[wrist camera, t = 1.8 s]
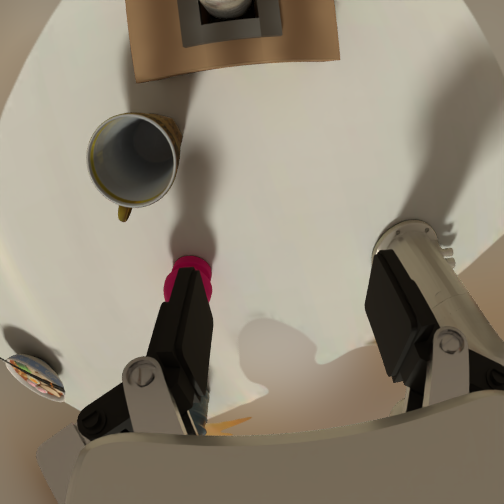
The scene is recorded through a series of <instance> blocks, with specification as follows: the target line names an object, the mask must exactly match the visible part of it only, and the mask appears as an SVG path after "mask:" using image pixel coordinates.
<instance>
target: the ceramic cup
mask: <svg viewBox="0 0 504 504" xmlns="http://www.w3.org/2000/svg"><path fill="white" fill-rule="evenodd" d="M182 138H183V136H182V134H181V132H180V130H179V129H178V127H177V125H176V123H175V121H174V120H173V119H172V118H169V117H165V116H162V115H158V114H145V113H135V112H131V113H124V114H119V115H116V116H113V117H111V118H109V119H108V120H106V121H105V122H103V123H102V124H101V125H100V126H99V127H98V128H97V129H96V131H95V132H94V133H93V135H92V137H91V139H90V141H89V145H88V148H87V156H86V158H87V168H88V172H89V175H90V178H91V180H92V182H93V184H94V185H95V187H96V188H97V190H98V191H99V192H100V193H101V194H102V195H103V196H104V197H106V198H107V199H108V200H110V201H111V202H113V203H115V204H118V205H119V208H118V218H119V220H120V221H122V222H126V221H127V220H128V218H129V216H130V213H131V210H132V208H139V207H145V206H148V205H151V204H153V203H155V202H157V201H158V200H160V199H161V198H162V197H163V196H164V195H165V194H166V193H167V192H168V191H169V189H170V188H171V186H172V184H173V182H174V180H175V177H176V173H177V169H178V165H179V159H180V146H181V142H182Z"/></svg>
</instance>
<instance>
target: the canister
mask: <svg viewBox="0 0 504 504" xmlns="http://www.w3.org/2000/svg"><path fill="white" fill-rule="evenodd" d="M208 403H209V391H208V390H207V388H206V394H205V396H202V395H201V402H200V403H193V407H192V408H191V409H189V413H190V415H191V418H192V420H193V423H194V425H195V427H196V430H197V432H198V435H203V436H204V435H206V433H207V431H206V429H205V424H206V423H207V412H208Z"/></svg>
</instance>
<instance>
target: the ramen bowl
mask: <svg viewBox="0 0 504 504" xmlns="http://www.w3.org/2000/svg"><path fill="white" fill-rule="evenodd" d="M0 359H2V358H0ZM2 360H3V361H5V364H6V367H7V369H8V370H9V371H10V372H11V374H12V375H13V376H14V377H15V378H16V379H17V380H18V381H19V382H21V383H22V384H23V385H25V386H26V387H27V388H29V389H30V390H32V391H33V392H35V393H37V394H39V395H40V396H42V397H45V398H47V399H50V400H53V401H58V402H62V401H65V390H64V386H63V384H62V381H61V380H60V378H59V377H58V375H57V374H56V372H55V371H53V370H52V369H51V367H50V366H49V365H48V364H47V363H46V362H45V361H43V360H41V359H39V358H37V357H33V356H30V355H26V354H16V355H13V356H11V357H9V358H8V359H7V360H4V359H2Z"/></svg>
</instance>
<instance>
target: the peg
mask: <svg viewBox="0 0 504 504" xmlns="http://www.w3.org/2000/svg"><path fill="white" fill-rule="evenodd" d="M199 1H200V2H201V3H202V5H203V6H204V7H205V8H206V10H207V11H208V12H209V13H210V14H211V15H212V16H214V17H216V18H219V19H225V20H228V19H234V18H237V17H240V16H242V15H243V14H244V13H246V12H247V10H248V9H249V8H250V6H251V2H252V0H199Z"/></svg>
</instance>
